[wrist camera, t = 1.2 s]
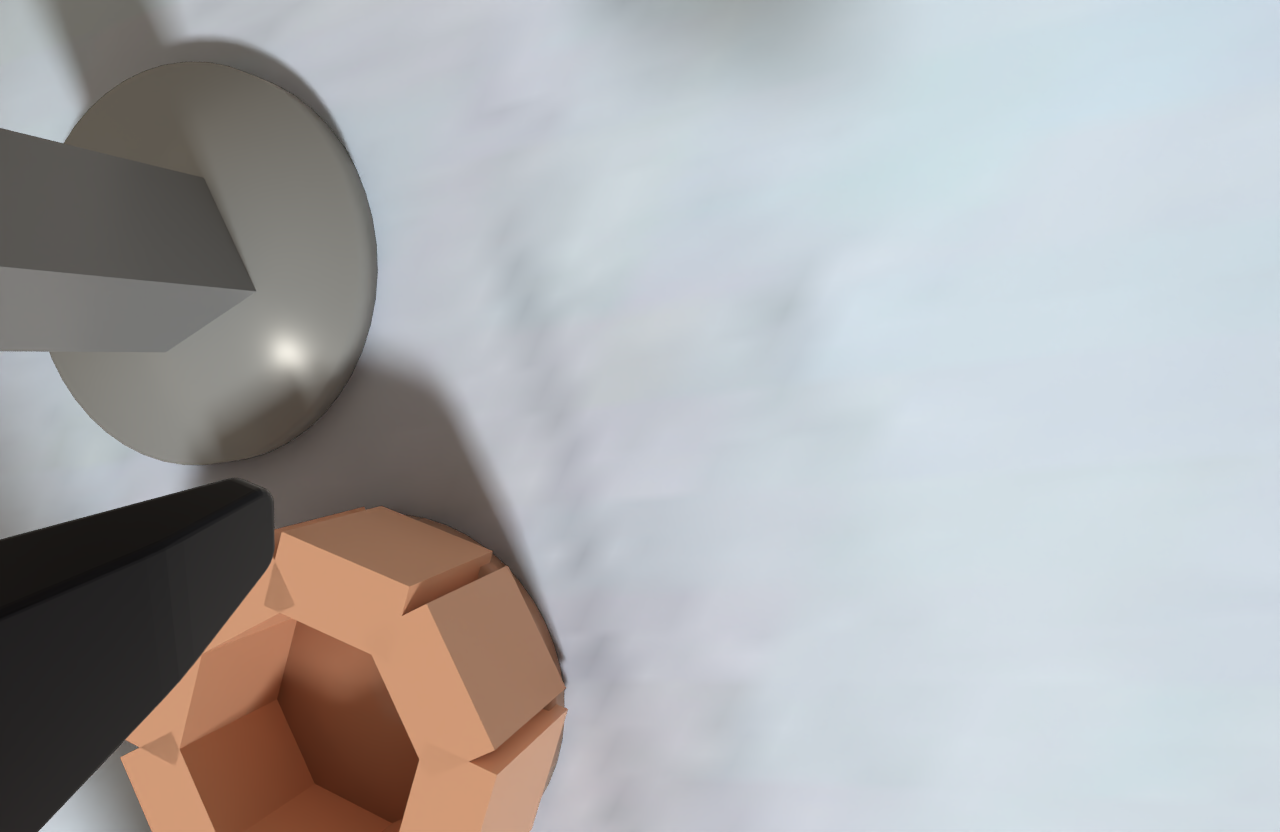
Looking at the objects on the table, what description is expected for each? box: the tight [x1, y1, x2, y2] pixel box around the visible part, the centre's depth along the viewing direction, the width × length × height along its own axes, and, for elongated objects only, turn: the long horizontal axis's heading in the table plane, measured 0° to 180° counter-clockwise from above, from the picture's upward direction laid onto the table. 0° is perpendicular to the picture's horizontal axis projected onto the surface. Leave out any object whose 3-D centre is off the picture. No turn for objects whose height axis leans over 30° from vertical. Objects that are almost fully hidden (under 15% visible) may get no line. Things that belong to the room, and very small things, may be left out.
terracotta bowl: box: [120, 506, 568, 832], centre depth 24 cm, size 10×10×4 cm
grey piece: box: [0, 62, 378, 465], centre depth 22 cm, size 11×11×11 cm
